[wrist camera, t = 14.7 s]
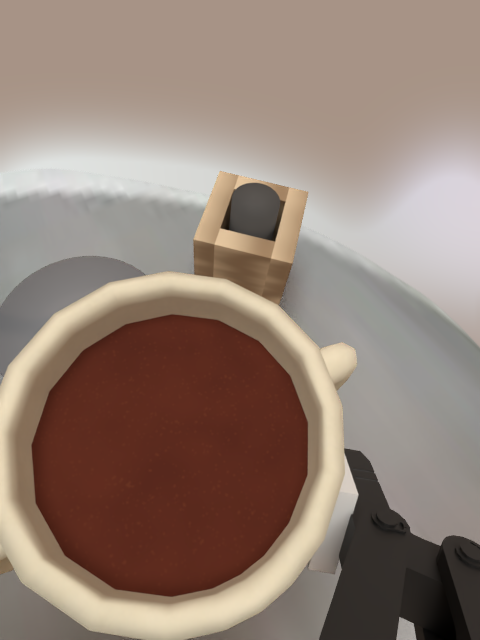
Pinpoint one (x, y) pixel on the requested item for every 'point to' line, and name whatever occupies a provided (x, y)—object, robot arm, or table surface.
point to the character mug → (168, 456)
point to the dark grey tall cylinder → (254, 210)
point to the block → (248, 240)
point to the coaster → (52, 297)
